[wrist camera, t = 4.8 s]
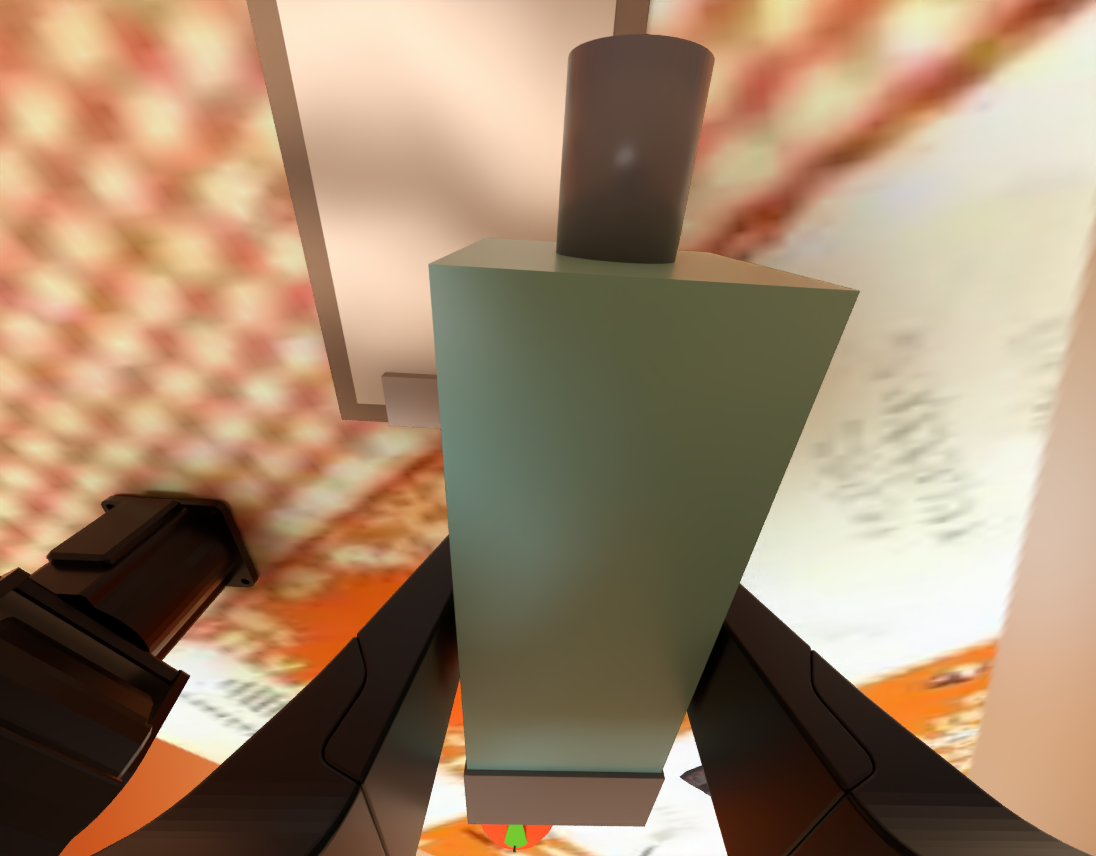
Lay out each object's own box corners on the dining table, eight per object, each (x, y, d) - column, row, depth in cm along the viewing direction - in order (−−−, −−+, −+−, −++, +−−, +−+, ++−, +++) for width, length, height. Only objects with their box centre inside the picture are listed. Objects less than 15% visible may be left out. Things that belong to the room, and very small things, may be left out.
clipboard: (594, 426, 20) (597, 440, 18) (347, 413, 19) (334, 426, 18) (666, -159, 11) (679, -202, 10) (216, -189, 11) (175, -236, 10)
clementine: (478, 705, 32) (460, 824, 26) (565, 708, 32) (567, 828, 26) (483, 752, 36) (468, 866, 30) (560, 755, 36) (561, 869, 30)
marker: (616, 655, 13) (644, 826, 9) (489, 651, 13) (467, 824, 9) (741, 113, 6) (1005, -15, 3) (480, 93, 6) (389, -72, 3)
